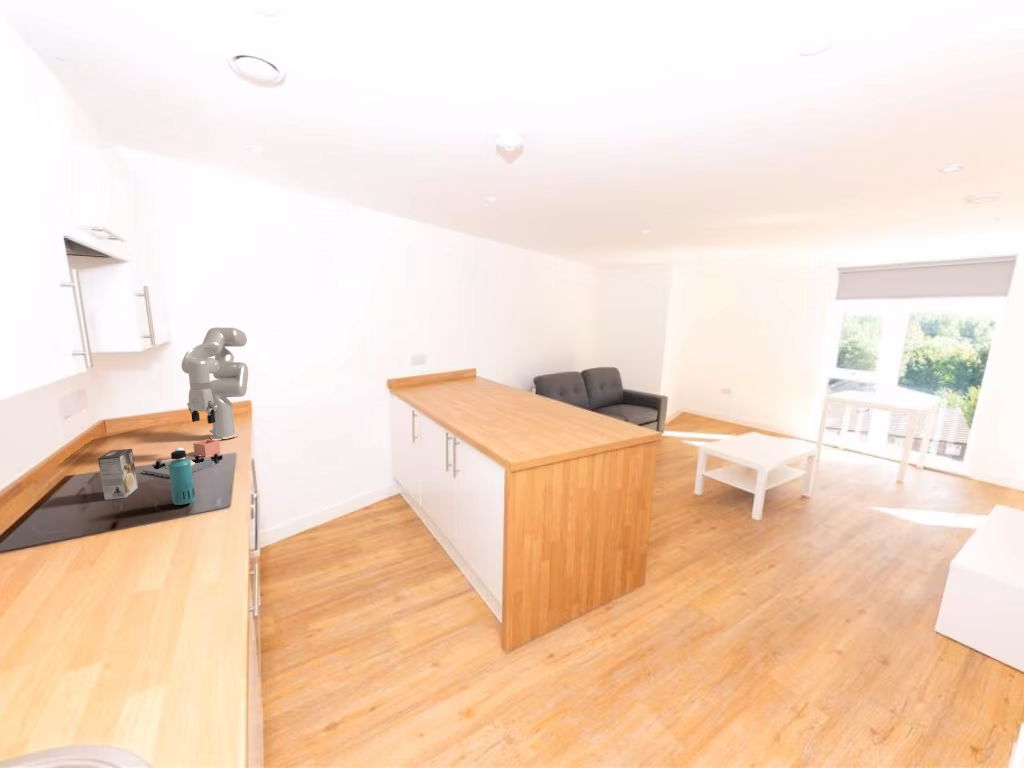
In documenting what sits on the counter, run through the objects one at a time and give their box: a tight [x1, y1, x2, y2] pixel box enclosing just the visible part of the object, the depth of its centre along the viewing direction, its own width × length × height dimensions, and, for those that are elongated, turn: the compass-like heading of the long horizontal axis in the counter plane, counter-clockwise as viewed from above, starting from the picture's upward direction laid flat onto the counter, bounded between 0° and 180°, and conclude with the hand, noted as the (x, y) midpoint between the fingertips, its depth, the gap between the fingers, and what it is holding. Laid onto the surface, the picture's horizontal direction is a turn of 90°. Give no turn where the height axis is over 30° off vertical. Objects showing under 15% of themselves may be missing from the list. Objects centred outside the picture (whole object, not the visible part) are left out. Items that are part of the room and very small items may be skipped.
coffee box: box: [97, 448, 139, 501], centre depth 150 cm, size 9×6×16 cm
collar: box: [192, 438, 221, 457], centre depth 194 cm, size 7×7×6 cm
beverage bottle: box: [168, 449, 196, 506], centre depth 143 cm, size 6×7×20 cm
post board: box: [142, 447, 214, 479], centre depth 176 cm, size 18×18×9 cm
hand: (203, 422), depth 192 cm, fingers open, 9 cm apart
